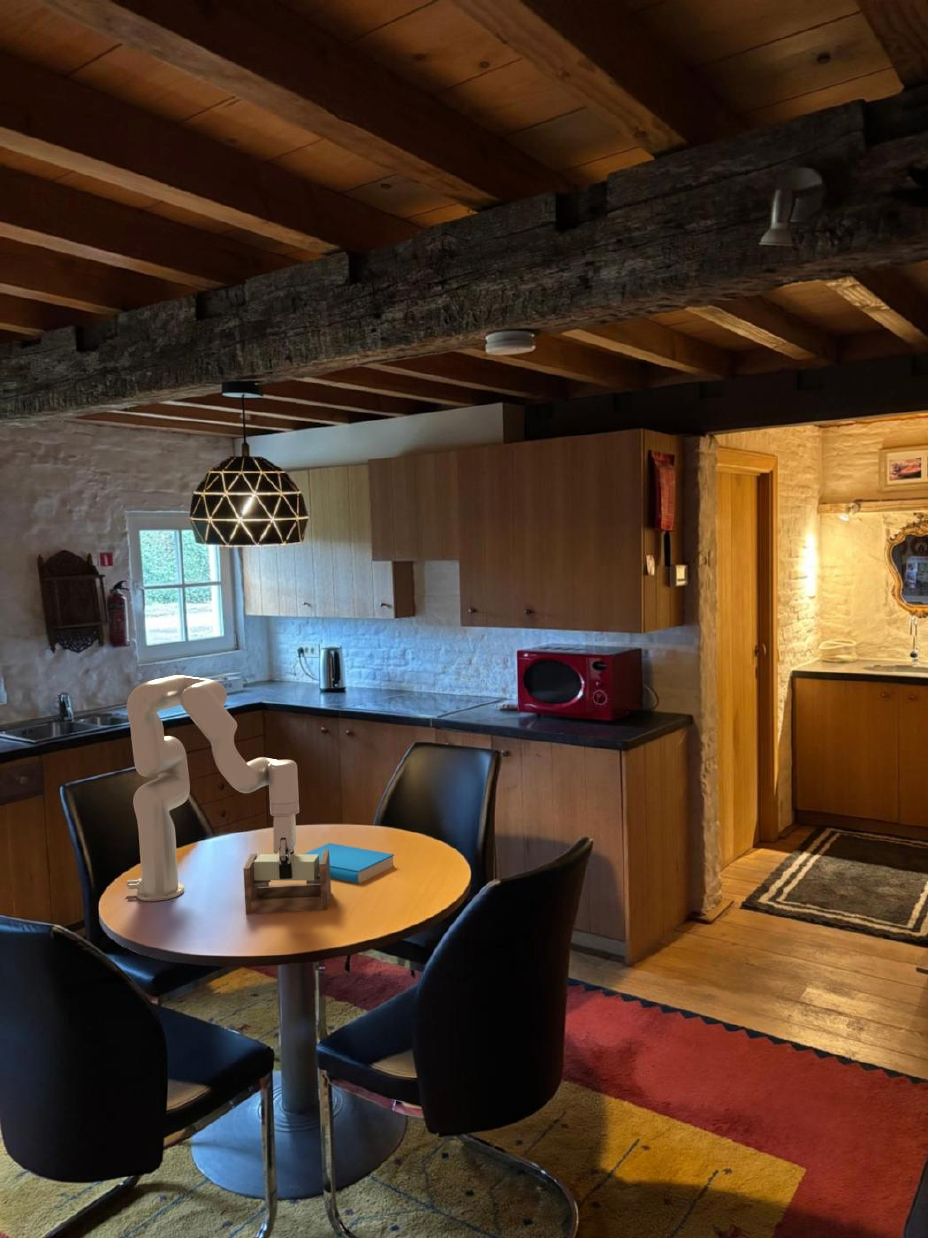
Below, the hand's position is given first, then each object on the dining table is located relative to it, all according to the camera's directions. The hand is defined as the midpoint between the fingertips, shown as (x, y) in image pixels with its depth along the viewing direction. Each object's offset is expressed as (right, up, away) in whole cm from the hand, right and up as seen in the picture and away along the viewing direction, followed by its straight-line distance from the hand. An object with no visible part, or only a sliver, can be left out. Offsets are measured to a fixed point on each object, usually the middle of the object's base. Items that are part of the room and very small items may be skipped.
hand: (287, 873), depth 247 cm
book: (+11, -7, +27) cm, 30 cm away
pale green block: (0, -1, 0) cm, 1 cm away
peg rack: (0, -8, +1) cm, 8 cm away
